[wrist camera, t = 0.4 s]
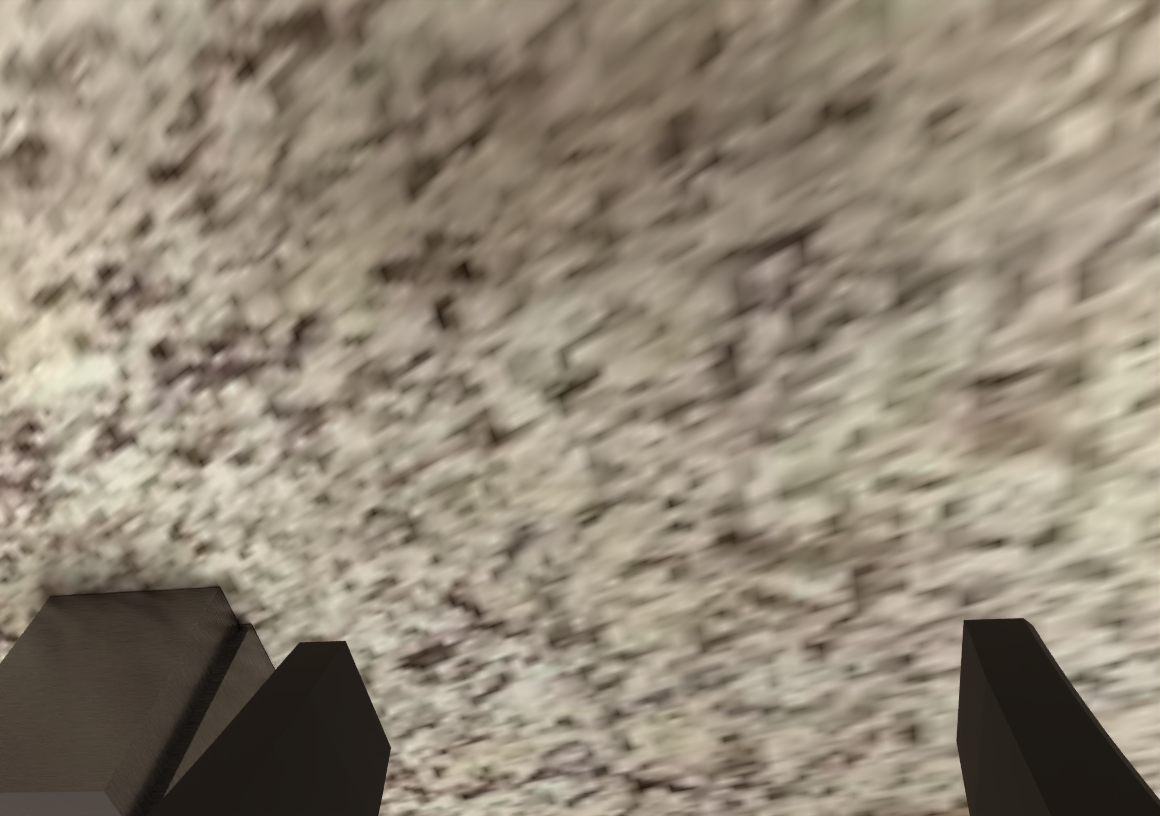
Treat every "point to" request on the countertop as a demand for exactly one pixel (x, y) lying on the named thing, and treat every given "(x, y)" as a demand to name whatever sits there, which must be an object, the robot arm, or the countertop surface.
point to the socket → (119, 699)
